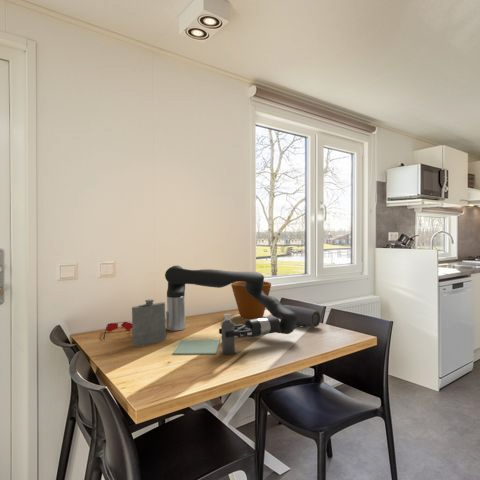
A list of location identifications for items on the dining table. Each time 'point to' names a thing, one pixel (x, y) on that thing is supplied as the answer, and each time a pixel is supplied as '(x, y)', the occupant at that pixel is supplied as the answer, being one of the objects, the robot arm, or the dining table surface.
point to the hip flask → (148, 323)
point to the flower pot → (249, 301)
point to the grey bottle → (229, 342)
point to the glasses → (115, 326)
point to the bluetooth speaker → (305, 316)
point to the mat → (197, 347)
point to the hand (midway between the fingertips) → (222, 333)
